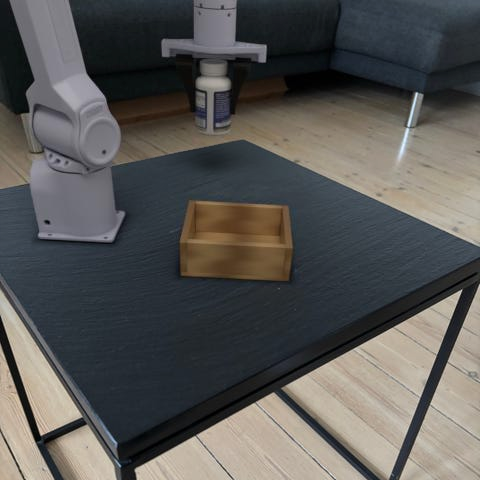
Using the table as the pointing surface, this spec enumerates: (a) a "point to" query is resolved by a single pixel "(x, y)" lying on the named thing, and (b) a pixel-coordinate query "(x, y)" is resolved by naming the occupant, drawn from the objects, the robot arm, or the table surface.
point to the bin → (236, 241)
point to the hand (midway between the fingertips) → (213, 111)
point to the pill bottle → (213, 98)
